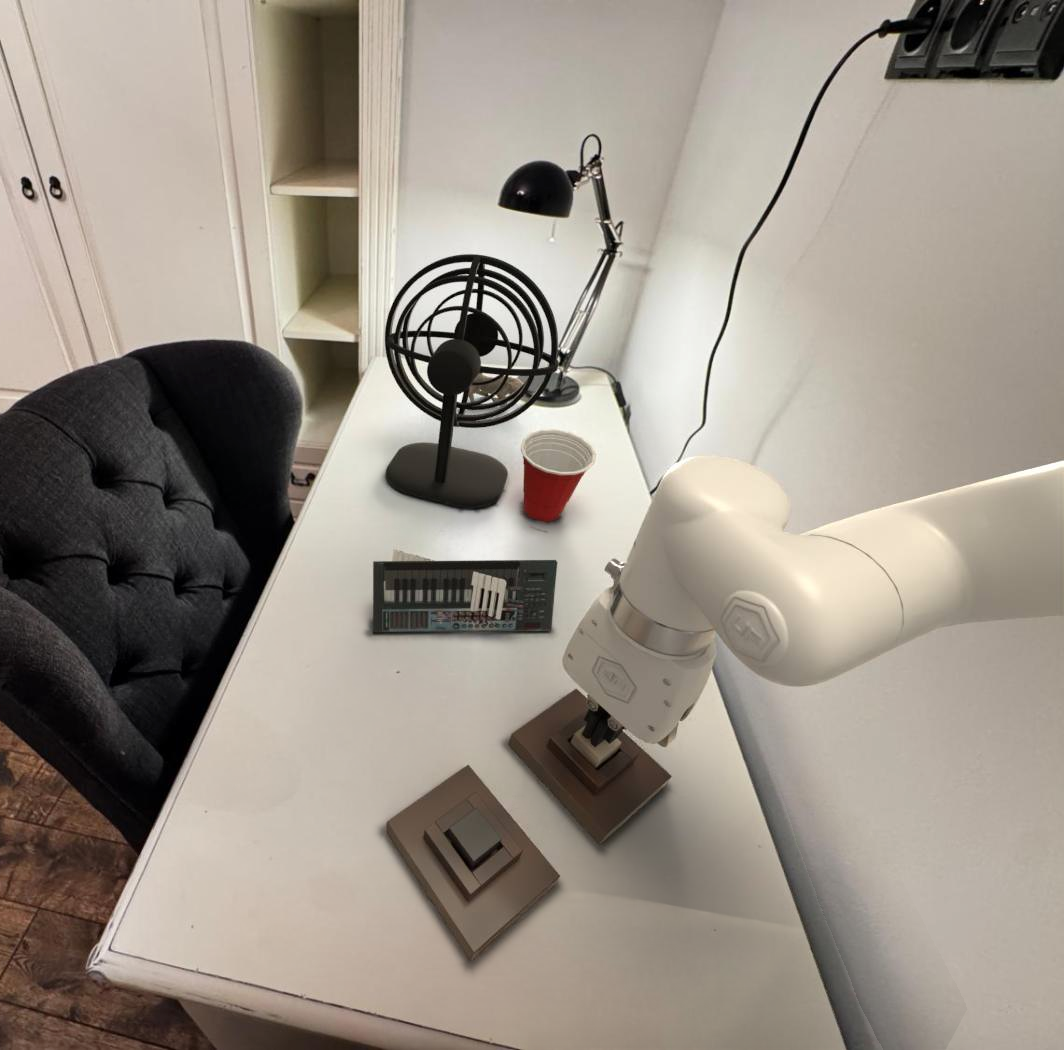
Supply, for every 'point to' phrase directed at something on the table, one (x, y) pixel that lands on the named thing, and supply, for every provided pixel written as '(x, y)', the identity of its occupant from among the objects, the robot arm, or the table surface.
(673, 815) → the table surface
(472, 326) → the desk fan
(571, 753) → the key block
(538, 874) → the key block
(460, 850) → the key ebony
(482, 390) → the dog figurine
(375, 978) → the table surface
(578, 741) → the key ivory
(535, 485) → the plastic cup
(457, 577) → the synthesizer keyboard
